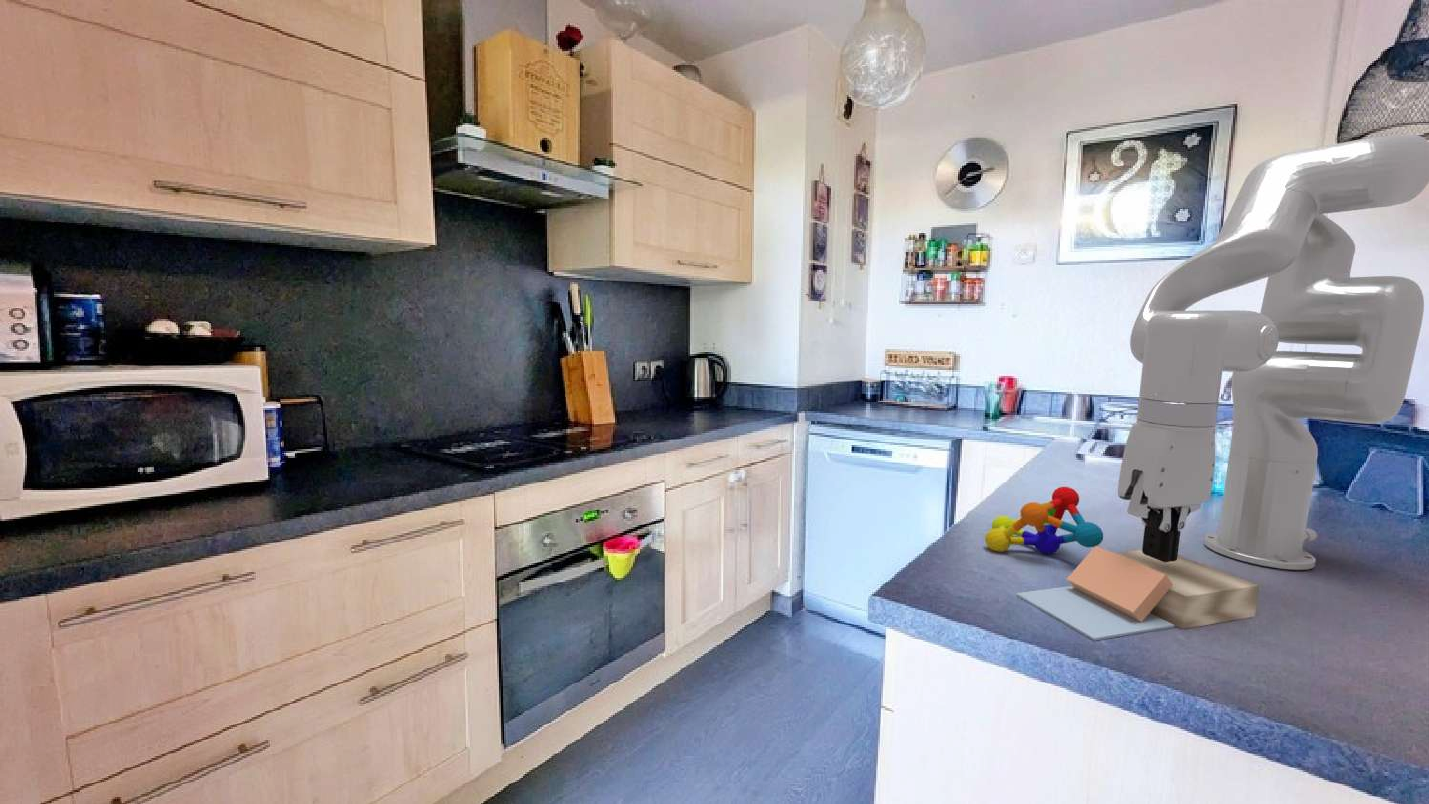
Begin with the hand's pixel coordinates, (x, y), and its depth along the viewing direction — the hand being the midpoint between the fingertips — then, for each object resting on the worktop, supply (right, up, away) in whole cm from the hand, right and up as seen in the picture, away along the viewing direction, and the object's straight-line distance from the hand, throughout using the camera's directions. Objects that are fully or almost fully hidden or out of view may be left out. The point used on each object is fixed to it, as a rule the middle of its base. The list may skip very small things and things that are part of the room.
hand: (1158, 557), depth 72 cm
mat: (-10, -6, -2) cm, 12 cm away
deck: (+2, -6, +1) cm, 6 cm away
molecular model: (-6, -4, +17) cm, 18 cm away
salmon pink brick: (-6, -3, -1) cm, 7 cm away
